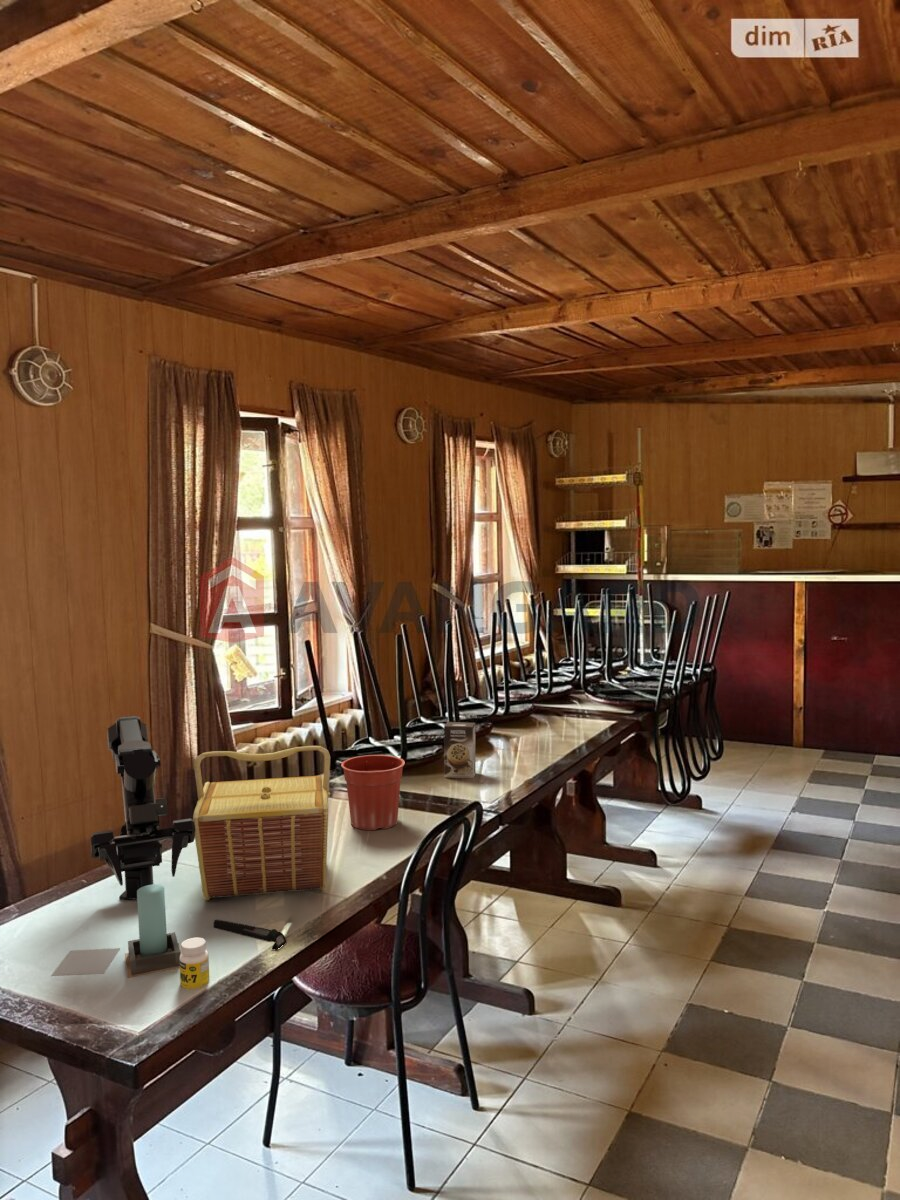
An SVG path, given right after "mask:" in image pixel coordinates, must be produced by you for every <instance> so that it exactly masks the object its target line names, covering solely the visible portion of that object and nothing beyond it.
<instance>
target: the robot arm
mask: <svg viewBox="0 0 900 1200" xmlns="http://www.w3.org/2000/svg"><path fill="white" fill-rule="evenodd" d="M106 735H107V750H108V751H111V759H112V761H113V762H114V763H115V772H116V774H117V775H119V776H120V777H121V788H122V799H123V810H124V821H125V823H124V825H122V827H121V828H120V832H119V835H115V836H114V830H113V829H110V830H109V829H108V830H102V831H101V830H100V831H95V832H93V833H91V835H90V852H91V858H93V859H99V861H100V862H105V863H106V864H107V865H108V866H109V868H110V869H111V871H112V872H113V874H114V876H115V877H116V880H117V882H118V884H119V885H120V886H121V887H122V886H123V882H124V885H125V886H124V887H125V890H124V891H122V893H121V894H119V899H120V900H137V890H138V889H139V888H141V887H143V886H147V885H153V884H154V871H153V869H154V868H153V867H160V864H161V863H163V843H161V842H160V841H162V840H168V839H172V840H171V841H172V842H171V877H173V878H174V877H175V876H176V872H177V867H178V861H179V858H180V855H181V852H182V850H183V849H186V848H188V846H189V844H192V843H193V842H194V841H195V823H194V821H193V818H185V819H184V818H183V819H178V820H177V819H176V820H173V821H172V827H169V828H162V829H159V827H160V817H163V816H167V815H168V803H167V802H168V801H167V797H160V798H156V794H155V786H154V785H155V781H156V780H155V779H156V771H157V770H159V767H160V766H161V759H160V756H159V755H158V753H157V752H156V750H154V749H153V748H152V745H151V743H150V742H148V741H149V737H148V736H149V735H148V727H147V724H146V723H145V722H142V721H141V718H140V716H136V715H134V716H123V717H122V716H121V717H119V718H116V719H115V723H114V724H112V725H111V726H109V727H108V728H107V734H106ZM122 872H124V881H123V874H122Z"/></svg>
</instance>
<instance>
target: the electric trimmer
mask: <svg viewBox="0 0 900 1200" xmlns="http://www.w3.org/2000/svg"><path fill="white" fill-rule="evenodd" d="M213 929H217V930H221V931H225V932H228V933H233V934H236V935H240V936H245V937H250V938H252V939H253V938H254V939H257V940H262V941H266V942H271V943H272V942H273V943H274V944H273V945H272V947H271V950H272V949H276V950H278V948H280V947H281V946H282V945H284V944H285V943H286V944H287V938H286V937H285V935H284V934H283V932H282V931H278V930H277V929H276V928H272V929H268V928H263V927H258V926H253V925H249V924H244V923H237V922H231V921H228V920H222V919H214V921H213ZM286 944H285V945H286ZM285 945H284V946H285ZM281 948H282V947H281ZM281 948H280V949H281Z"/></svg>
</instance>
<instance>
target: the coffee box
mask: <svg viewBox="0 0 900 1200" xmlns="http://www.w3.org/2000/svg"><path fill="white" fill-rule="evenodd" d="M443 730H444V731H443V734H444V736H443V745H444V747H443V749H444V750H443V753H444V755H443V756H444V759H443V762H444V778H452V779H453V778H455V779H456V778H457V779H474V777H475V775H476V773H477V771H476V722H458V721H447V722H446V723H445V725H443Z"/></svg>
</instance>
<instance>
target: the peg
mask: <svg viewBox="0 0 900 1200" xmlns="http://www.w3.org/2000/svg"><path fill="white" fill-rule="evenodd" d="M165 896H166V894H165V886H163V885H162V884H156V883H153V885H147V886H143V887H141V888H139V889H138V890H137V899H136V901H137V915H138V917H137V919H138V935H139V936H138V937H139V938H138V939H140V958H141V957H146V956H151V955H156V954H161V953H166V952H168V951H167V934H168V933H167V917H166V916H167V913H166V900H165V899H166V897H165Z"/></svg>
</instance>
